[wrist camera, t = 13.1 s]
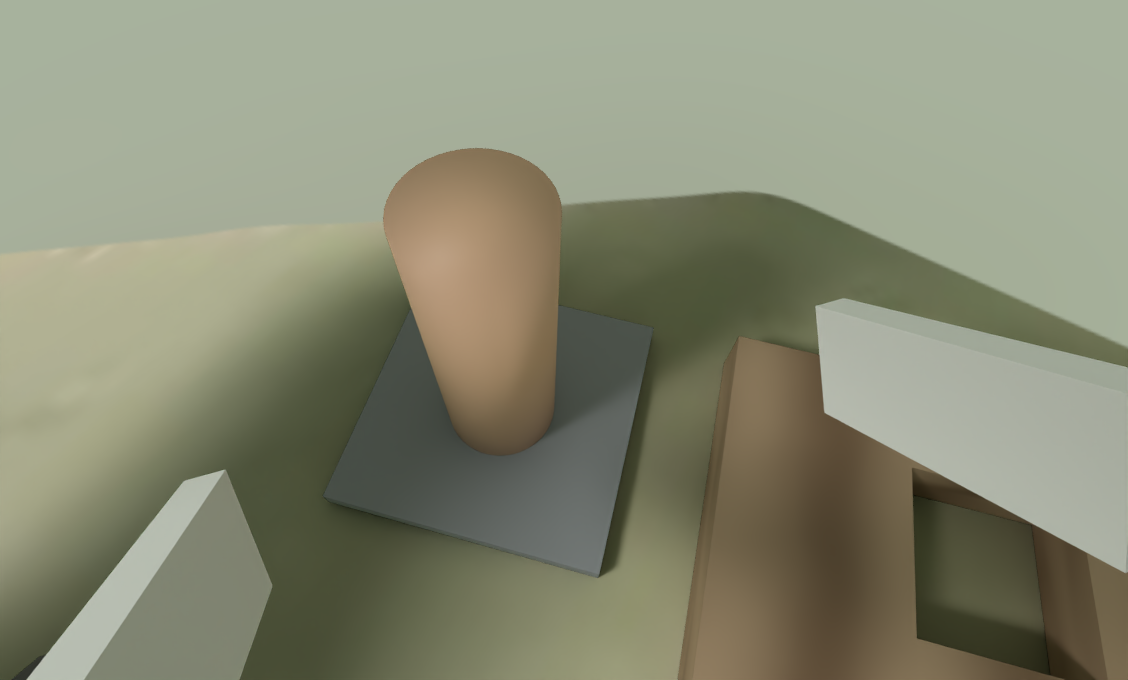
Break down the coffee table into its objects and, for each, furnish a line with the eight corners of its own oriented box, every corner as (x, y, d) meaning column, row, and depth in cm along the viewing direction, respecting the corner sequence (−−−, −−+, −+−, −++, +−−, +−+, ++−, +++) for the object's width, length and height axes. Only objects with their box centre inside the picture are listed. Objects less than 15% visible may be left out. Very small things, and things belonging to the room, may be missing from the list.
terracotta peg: (434, 440, 24) (353, 259, 14) (469, 349, 27) (422, 134, 16) (538, 467, 24) (533, 302, 14) (565, 373, 26) (580, 167, 16)
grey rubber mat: (329, 501, 24) (322, 496, 23) (429, 283, 29) (426, 273, 29) (597, 577, 23) (599, 574, 22) (651, 336, 28) (653, 327, 27)
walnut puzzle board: (672, 710, 21) (688, 713, 19) (723, 363, 28) (739, 335, 25) (1307, 902, 19) (1407, 930, 17) (1192, 475, 26) (1252, 456, 23)
